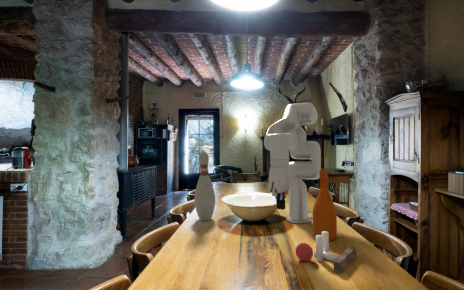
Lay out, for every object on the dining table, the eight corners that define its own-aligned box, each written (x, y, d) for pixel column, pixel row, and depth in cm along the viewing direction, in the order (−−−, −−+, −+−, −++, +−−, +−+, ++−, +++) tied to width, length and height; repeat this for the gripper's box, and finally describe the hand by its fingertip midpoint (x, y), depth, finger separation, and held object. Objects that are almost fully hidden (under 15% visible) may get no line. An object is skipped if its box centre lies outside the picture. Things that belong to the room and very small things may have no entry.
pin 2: (323, 253, 97) (323, 230, 97) (329, 254, 95) (329, 232, 95) (320, 255, 95) (320, 232, 95) (327, 257, 93) (326, 233, 93)
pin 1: (317, 257, 93) (317, 234, 93) (324, 259, 91) (323, 235, 91) (315, 260, 91) (314, 236, 91) (321, 262, 90) (321, 237, 90)
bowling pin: (214, 222, 138) (213, 151, 138) (193, 222, 138) (191, 152, 138) (216, 216, 149) (214, 151, 149) (196, 216, 149) (194, 151, 149)
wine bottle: (321, 243, 106) (320, 170, 106) (308, 235, 115) (307, 168, 115) (342, 240, 109) (340, 169, 108) (327, 232, 118) (326, 167, 118)
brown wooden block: (350, 255, 94) (350, 245, 94) (356, 256, 93) (355, 247, 93) (333, 272, 83) (333, 261, 83) (340, 274, 81) (339, 263, 81)
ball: (318, 252, 92) (306, 238, 95) (314, 255, 87) (301, 240, 90) (306, 263, 93) (295, 249, 96) (301, 266, 88) (289, 251, 91)
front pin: (316, 248, 96) (339, 254, 90) (317, 253, 96) (340, 260, 90) (313, 251, 94) (337, 257, 88) (314, 257, 94) (338, 264, 88)
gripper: (281, 162, 112) (282, 204, 113) (261, 164, 101) (262, 211, 101) (297, 162, 107) (298, 206, 107) (277, 165, 96) (279, 214, 96)
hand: (280, 208), depth 104 cm, fingers closed
